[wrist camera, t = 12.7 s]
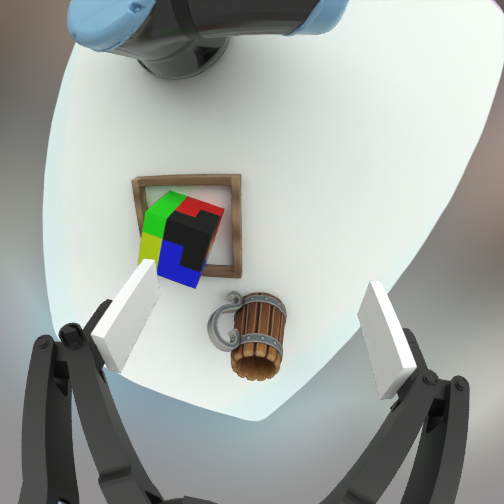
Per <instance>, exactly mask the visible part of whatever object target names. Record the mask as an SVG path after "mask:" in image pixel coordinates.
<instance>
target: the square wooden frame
mask: <svg viewBox="0 0 504 504" xmlns="http://www.w3.org/2000/svg"><path fill="white" fill-rule="evenodd" d="M164 185H231V190H232V229H233V259H234V266H226V265H208V264H206V265H205V267H204V270H203V272H202V274H201V276H208V277H224V278H241V275H242V229H241V174H188V175H161V176H143V177H136V178H135V179H133V180H132V187H133V194H134V201H135V207H136V213H137V219H138V225H139V231H140V236H141V237H142V231H143V224H144V218H145V212H146V211H147V210H148V209H147V202H146V195H145V187H144V186H164Z"/></svg>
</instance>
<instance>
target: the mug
mask: <svg viewBox="0 0 504 504" xmlns="http://www.w3.org/2000/svg"><path fill="white" fill-rule="evenodd" d="M227 299H228V300H230V301H231V300H233V301H234V303H235V304H228V305H224V306H221V307H220V308H219V309H218V310H216V311H215V312H214V313H213V314H212V316H211V317H210V319H209V321H208V325H207V331H208V335H209V338H210V340H211V342H212V343H213V345H214V346H215V347H216V348H218V349H220V350H221V351H224V352H230V351H231V366H232V369H233V371H234V372H235V373H237V374H238V376H240V377H241V378H244V377H245V376H246V378H247V379H248V380H251V381H253V380H255V379H257V380H258V381H264V380H265V379H266V377H267V379H271V378H273V377H274V375H275V374H277V373H278V371H279V369H280V363H281V361H282V355H283V348H282V345H283V336H284V327H285V323H286V310H285V306H284V304H282V302H281V301H280V300H279V299H278V298H277V297H275V296H272V295H270V294H267V293H252V294H249V295H247V296H245V297H243V298H242V296H241V295H240V294H239V293H238V292H235V291H233V292H232V293H230V294H229V295H228V296H227ZM231 312H235V314H234V322H235V323H234V330H232V331H231V332H229V333H228V335H229V337H230V343H229V342H227V341H225V340H224V339H223V338H222V337H221V336H220V334H219V331H218V326H217V325H218V320H219V318H220V316H221V314H224V313H231Z"/></svg>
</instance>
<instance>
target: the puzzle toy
mask: <svg viewBox="0 0 504 504" xmlns="http://www.w3.org/2000/svg"><path fill="white" fill-rule="evenodd" d="M223 212H224V209H223V208H220V207H217V206H214V205H211V204H209V203H206V202H203V201H200V200H197V199H194V198H191V197H188V196H185V195H182V194H179V193H176V192H173V191H169V192H168V193H167V194H165V195H164V196H163V197H162V198H161V199H159V200H158V201H157V202H156V203H155V204H154V205H153V206H151V207H150V208H149V209H148V210H147V211H146V212H145V218H144V224H143V231H142V237H141V244H140V252H139V260H138V266H139V264H140V263H141V262H142V261H143V259H151V260H155V264H156V271H157V275H159V276H162V277H164V278H167V279H170V280H172V281H175V282H178V283H180V284H183V285H186V286H189V287H192V288H194V289H196V286H197V284H198V281H199V279H200V277H201V274H202V272H203V270H204V267H205V265H206V262H207V260H208V258H209V255H210V252H211V249H212V246H213V242H214V239H215V236H216V233H217V230H218V227H219V224H220V221H221V218H222V215H223Z"/></svg>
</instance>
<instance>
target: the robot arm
mask: <svg viewBox="0 0 504 504" xmlns="http://www.w3.org/2000/svg"><path fill="white" fill-rule="evenodd" d="M348 1H349V0H71V3H70V6H69V9H68V15H67V26H68V31H69V33H70V35H71V37H72V38H73V40H75V42H77V43H78V44H79V45H82V46H84V47H87V48H90V49H92V50H94V51H98V52H108V53H113V54H118V55H122V56H127V57H131V58H135V59H137V60H138V62H139V63H140V65H141V66H142V67H143V68H144V69H145V70H147V71H148V72H150V73H151V74H153V75H156V76H159V77H163V78H168V79H183V78H188V77H192V76H195V75H197V74H199V73H201V72H203V71H205V70H206V69H208V68H209V67H211V66H212V65H213V64H214V63H215V62H216V61H217V60H218V59H219V58H220V57H221V55H222V54H223V52H224V51H225V49H226V47H227V44H228V41H229V36H239V35H260V34H282V35H283V36H293V35H296V34H301V35H319V34H323V33H326V32H329V31H330V30H332V29H333V28H334V27H335V26H336V25H337V24H338V22H339V21H340V19H341V18H342V16H343V14H344V12H345V9H346V7H347V4H348ZM159 297H160V289H159V283H158V277H157V271H156V264H155V260H151V259H143V261H142V262H141V263H140V264H139V266H138V267H137V268H136V270H135V271H134V272H133V274H132V275H131V277H130V278H129V279H128V281H127V282H126V283H125V285H124V286H123V287H122V289H121V290H120V292H119V293H118V294H117V296H116V297H115V299H114V300H109V299H107V300H106V301H104V302H103V303H102V304H100V306H99V307H98V308H97V310H96V312H95V313H94V314H93V316H92V317H91V318H90V320H89V321H88V323H87V324H86V326H85V327H84V329H83V330H82V328H81V326H80V325H79V324H77V323H68V324H66V325H64V326H63V327H62V328H61V329H60V331H59V338H60V339H61V341H62V342H55V341H54V340H53V338H52V337H51V336H50V335H42V336H40V337H38V338H37V340H36V341H35V343H34V346H33V351H32V355H31V360H30V365H29V371H28V377H27V384H26V390H25V400H24V408H23V421H22V475H23V483H22V488H21V493H20V498H19V503H18V504H79V493H78V487H77V480H76V472H75V465H74V455H73V442H72V419H71V396H72V390H73V394H74V398H75V403H76V406H77V410H78V414H79V417H80V421H81V424H82V428H83V431H84V434H85V437H86V440H87V443H88V446H89V449H90V452H91V454H92V457H93V459H94V462H95V465H96V467H97V470H98V472H99V476H100V477H99V479H98V481H99V485H100V488H101V490H102V492H103V494H104V497H105V499H106V501H107V503H108V504H217V503H214V502H211V501H208V500H203V499H198V498H192V497H188V496H184V498H176V499H170V500H166V501H165V500H164V499H163V497H162V496H161V494H160V493H159V491H158V490H157V488H156V487H155V486H154V484H153V483H152V482H151V480H150V479H149V477H148V475H147V474H146V472H145V470H144V468H143V466H142V464H141V462H140V460H139V458H138V456H137V454H136V452H135V450H134V448H133V446H132V444H131V442H130V440H129V437H128V435H127V433H126V431H125V428H124V426H123V423H122V421H121V419H120V416H119V414H118V411H117V409H116V406H115V403H114V401H113V398H112V395H111V393H110V390H109V387H108V384H107V381H106V377H105V374H104V371H103V370H102V367H103V366H104V364H106V366H107V368H108V370H111V371H114V372H117V373H121V371H122V369H123V367H124V365H125V363H126V361H127V359H128V357H129V355H130V353H131V351H132V349H133V347H134V345H135V343H136V341H137V339H138V337H139V335H140V333H141V331H142V329H143V327H144V325H145V323H146V321H147V319H148V317H149V315H150V314H151V312H152V310H153V308H154V306H155V304H156V302H157V300H158V299H159ZM357 315H358V318H359V321H360V325H361V328H362V332H363V335H364V339H365V343H366V346H367V350H368V354H369V357H370V361H371V366H372V370H373V373H374V378H375V382H376V387H377V391H378V396H379V399H380V400H382V399H392V398H393V397H394V395H395V394H396V393H397V394H398V397H399V399H398V400H397V401H396V402H395V403H394V404H393V405H392V406H391V408H390V409H391V411H390V413H389V414H388V416H387V418H386V419H385V421H384V423H383V424H382V426H381V427H380V429H379V430H378V432H377V434H376V435H375V436H374V438H373V439H372V441H371V442H370V444H369V445H368V447H367V448H366V449H365V451H364V452H363V454H362V455H361V456H360V458H359V459H358V460H357V462H356V463H355V464H354V465H353V467H352V468H351V469H350V471H349V472H348V473H347V474H346V476H345V477H344V478H343V479H342V480H341V482H340V483H339V484H338V485H337V486H336V487H335V489H334V490H333V491H332V492H331V493H330V494H329V495H328V496H327V497H326V498H325V499H324V500H323V501H322V502H320V503H319V504H376V502H377V501H378V500H379V498H380V497H381V495H382V494H383V492H384V491H385V490H386V488H387V487H388V485H389V484H390V482H391V481H392V479H393V478H394V476H395V474H396V473H397V471H398V469H399V468H400V466H401V464H402V463H403V461H404V459H405V458H406V456H407V454H408V452H409V450H410V448H411V447H412V445H413V443H414V441H415V439H416V437H417V435H418V433H419V431H420V428H421V427H422V425H423V428H422V433H421V437H420V441H419V446H418V450H417V454H416V457H415V461H414V465H413V468H412V472H411V475H410V478H409V481H408V484H407V487H406V490H405V492H404V495H403V498H402V501H401V503H400V504H454V502H455V498H456V494H457V490H458V486H459V482H460V478H461V473H462V467H463V462H464V455H465V448H466V440H467V432H468V419H469V391H470V390H469V383H468V382H467V380H466V379H465V378H464V377H462V376H458V375H457V376H455V377H453V378H452V380H451V381H447V380H441V379H439V378H438V376H437V375H436V373H435V372H433V371H432V370H429V369H428V368H427V365H426V363H425V360H424V358H423V355H422V353H421V351H420V349H419V346H418V343H417V341H416V338H415V336H414V334H413V333H412V332H411V331H410V330H409V329H408V328H401V325H400V323H399V321H398V318H397V316H396V314H395V311H394V309H393V307H392V305H391V302H390V300H389V298H388V296H387V294H386V292H385V289H384V287H383V285H382V283H381V282H380V281H370V282H369V285H368V287H367V290H366V293H365V296H364V298H363V301H362V304H361V306H360V309H359V312H358V314H357ZM423 422H424V423H423Z"/></svg>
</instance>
